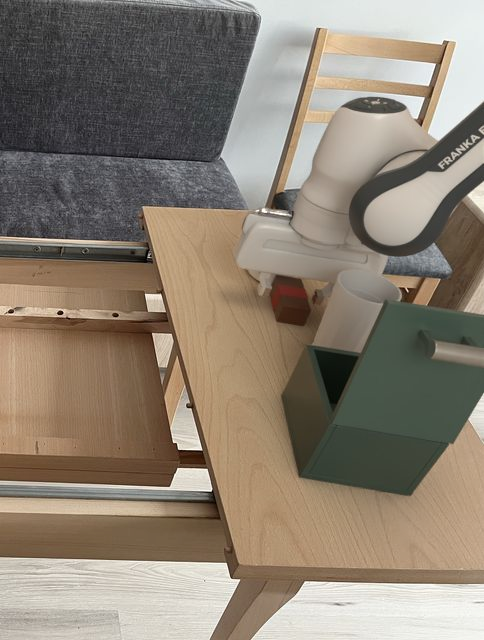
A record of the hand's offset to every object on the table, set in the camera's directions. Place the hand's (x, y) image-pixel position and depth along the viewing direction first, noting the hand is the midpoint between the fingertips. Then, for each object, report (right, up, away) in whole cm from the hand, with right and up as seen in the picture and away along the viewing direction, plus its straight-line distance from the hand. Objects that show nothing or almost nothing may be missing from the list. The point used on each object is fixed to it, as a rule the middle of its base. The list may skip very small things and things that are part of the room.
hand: (289, 298), depth 103 cm
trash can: (-1, -19, -19) cm, 27 cm away
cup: (+3, -9, -6) cm, 11 cm away
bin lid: (-1, -10, -34) cm, 36 cm away
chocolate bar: (0, -1, +1) cm, 2 cm away
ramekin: (0, +4, +8) cm, 9 cm away
